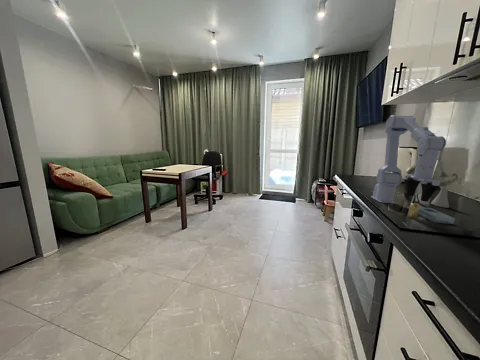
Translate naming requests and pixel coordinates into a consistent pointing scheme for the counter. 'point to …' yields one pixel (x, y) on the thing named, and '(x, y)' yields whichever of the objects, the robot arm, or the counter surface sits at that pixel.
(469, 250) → the counter surface
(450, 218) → the pale blue flat bar
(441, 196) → the flask
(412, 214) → the yellow upright block
